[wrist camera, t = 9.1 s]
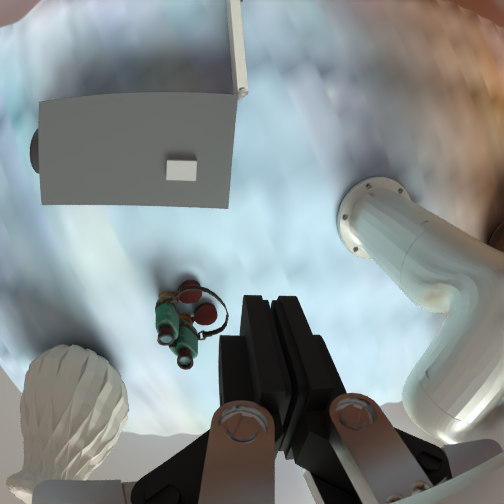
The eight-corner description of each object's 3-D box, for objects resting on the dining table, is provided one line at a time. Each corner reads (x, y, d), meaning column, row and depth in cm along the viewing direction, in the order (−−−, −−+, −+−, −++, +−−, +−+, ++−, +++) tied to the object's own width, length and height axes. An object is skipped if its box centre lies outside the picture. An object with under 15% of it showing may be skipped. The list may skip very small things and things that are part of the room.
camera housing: (233, 98, 36) (238, 93, 28) (225, 191, 40) (228, 211, 32) (54, 103, 32) (20, 104, 24) (55, 188, 37) (23, 207, 29)
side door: (248, 99, 35) (256, 95, 29) (234, 100, 35) (238, 96, 29) (240, -3, 29) (245, -26, 23) (225, -3, 29) (228, -25, 23)
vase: (47, 309, 45) (-31, 449, 18) (150, 357, 51) (126, 519, 24) (38, 374, 51) (-9, 490, 24) (121, 412, 57) (102, 536, 30)
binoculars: (244, 350, 39) (179, 381, 39) (232, 307, 49) (178, 335, 49) (209, 300, 36) (139, 336, 36) (203, 263, 45) (146, 294, 45)
